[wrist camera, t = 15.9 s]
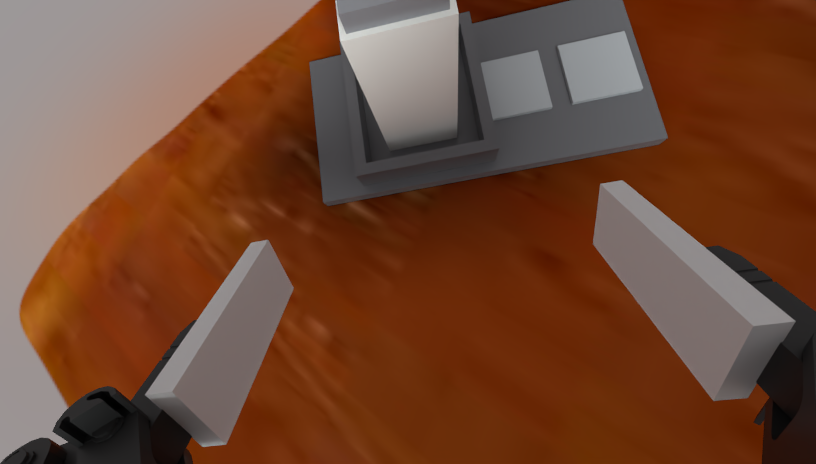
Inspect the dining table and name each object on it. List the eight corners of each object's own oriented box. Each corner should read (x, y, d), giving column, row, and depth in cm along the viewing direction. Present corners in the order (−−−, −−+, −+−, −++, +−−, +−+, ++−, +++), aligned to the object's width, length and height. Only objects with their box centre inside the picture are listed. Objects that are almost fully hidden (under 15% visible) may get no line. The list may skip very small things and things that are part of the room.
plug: (443, 65, 25) (433, -129, 14) (457, 137, 24) (458, -8, 13) (379, 79, 26) (318, -96, 14) (390, 150, 25) (331, 22, 13)
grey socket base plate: (612, 0, 26) (632, -38, 23) (658, 144, 23) (688, 122, 20) (314, 70, 28) (298, 44, 25) (328, 205, 26) (311, 194, 23)
